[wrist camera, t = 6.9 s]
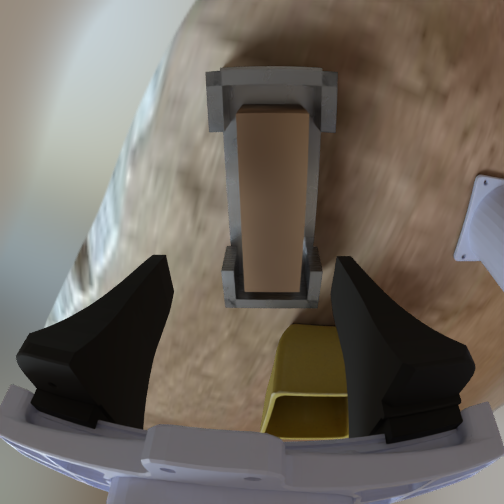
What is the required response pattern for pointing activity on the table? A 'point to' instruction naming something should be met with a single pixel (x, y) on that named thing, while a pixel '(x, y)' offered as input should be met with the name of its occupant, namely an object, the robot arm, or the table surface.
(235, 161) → the bracket
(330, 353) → the flower pot
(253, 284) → the block
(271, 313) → the table surface
